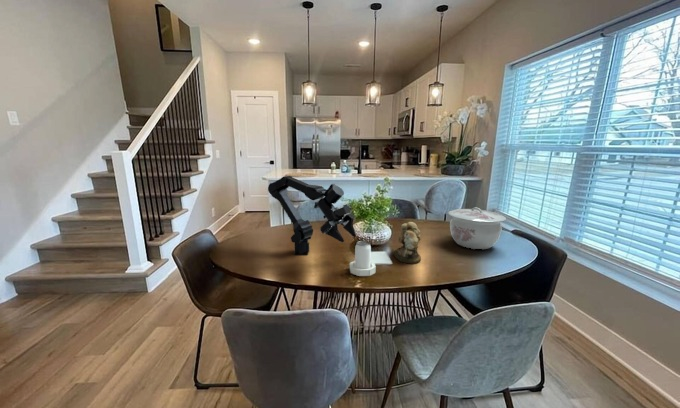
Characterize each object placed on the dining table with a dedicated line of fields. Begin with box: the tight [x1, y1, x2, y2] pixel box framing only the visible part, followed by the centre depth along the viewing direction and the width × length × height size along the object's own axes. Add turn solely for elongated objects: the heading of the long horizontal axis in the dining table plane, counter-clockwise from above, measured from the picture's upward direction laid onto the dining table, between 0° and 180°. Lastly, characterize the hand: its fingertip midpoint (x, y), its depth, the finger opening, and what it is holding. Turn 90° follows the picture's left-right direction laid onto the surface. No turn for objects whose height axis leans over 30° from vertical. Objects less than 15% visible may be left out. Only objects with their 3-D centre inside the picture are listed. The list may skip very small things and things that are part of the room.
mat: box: [371, 251, 393, 266], centre depth 133 cm, size 14×14×1 cm
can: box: [354, 240, 372, 269], centre depth 119 cm, size 6×6×12 cm
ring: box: [349, 260, 377, 277], centre depth 120 cm, size 10×10×2 cm
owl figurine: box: [393, 221, 422, 265], centre depth 134 cm, size 18×12×17 cm, turn 6°
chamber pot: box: [447, 206, 507, 250], centre depth 151 cm, size 28×28×21 cm
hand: (349, 239), depth 121 cm, fingers open, 9 cm apart
